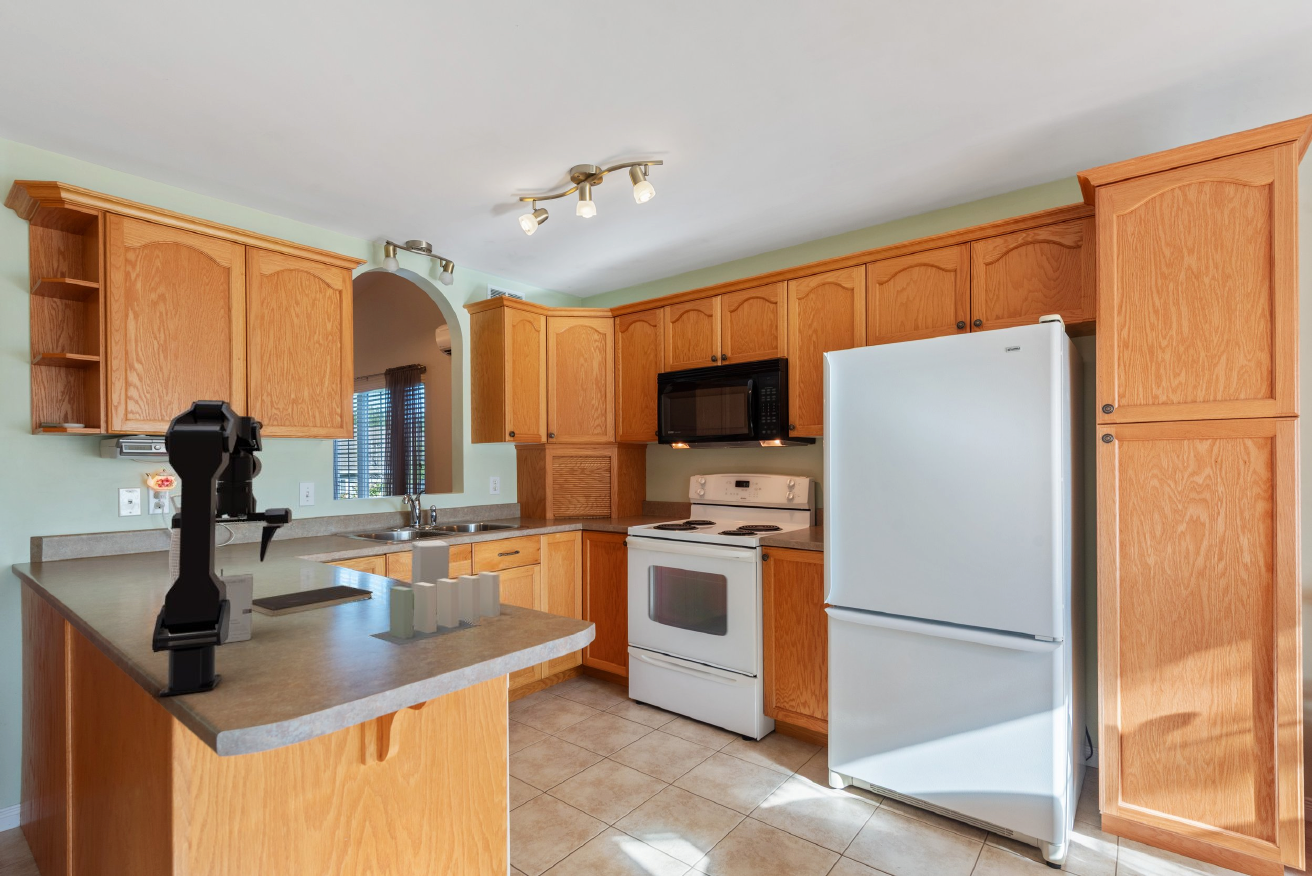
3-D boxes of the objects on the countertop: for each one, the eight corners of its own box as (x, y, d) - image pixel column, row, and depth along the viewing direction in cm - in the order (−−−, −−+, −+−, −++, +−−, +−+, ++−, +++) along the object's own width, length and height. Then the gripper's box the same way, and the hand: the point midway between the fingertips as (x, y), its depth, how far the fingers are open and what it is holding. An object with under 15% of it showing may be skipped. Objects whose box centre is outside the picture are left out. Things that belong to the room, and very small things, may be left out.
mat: (399, 647, 117) (399, 644, 117) (369, 637, 124) (369, 635, 124) (514, 618, 137) (514, 616, 137) (483, 611, 144) (483, 610, 144)
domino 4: (472, 622, 132) (472, 578, 132) (458, 619, 135) (458, 576, 136) (479, 621, 133) (479, 577, 134) (465, 617, 137) (465, 574, 137)
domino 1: (403, 639, 120) (403, 590, 121) (390, 634, 124) (390, 587, 124) (412, 637, 122) (412, 588, 122) (398, 632, 125) (398, 586, 125)
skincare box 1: (213, 645, 120) (214, 579, 120) (214, 639, 124) (215, 576, 124) (252, 639, 123) (253, 575, 124) (252, 634, 127) (252, 572, 128)
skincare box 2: (410, 611, 146) (410, 541, 146) (440, 607, 149) (440, 539, 150) (419, 618, 139) (419, 545, 139) (450, 614, 142) (450, 542, 143)
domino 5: (492, 618, 136) (492, 575, 136) (478, 614, 139) (478, 572, 139) (499, 616, 137) (499, 573, 138) (485, 613, 141) (485, 571, 141)
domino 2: (428, 633, 124) (427, 586, 125) (414, 629, 128) (414, 583, 128) (436, 631, 126) (436, 584, 126) (422, 627, 129) (422, 582, 129)
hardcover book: (373, 600, 160) (373, 591, 160) (272, 619, 142) (272, 609, 142) (341, 593, 170) (341, 584, 170) (243, 610, 152) (243, 600, 152)
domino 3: (450, 627, 128) (450, 582, 129) (436, 624, 131) (436, 579, 132) (458, 626, 130) (458, 580, 130) (444, 622, 133) (444, 578, 133)
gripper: (295, 479, 135) (295, 554, 134) (188, 482, 128) (187, 561, 127) (288, 480, 125) (287, 561, 124) (171, 483, 118) (169, 569, 117)
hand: (234, 563), depth 123 cm, fingers open, 9 cm apart
